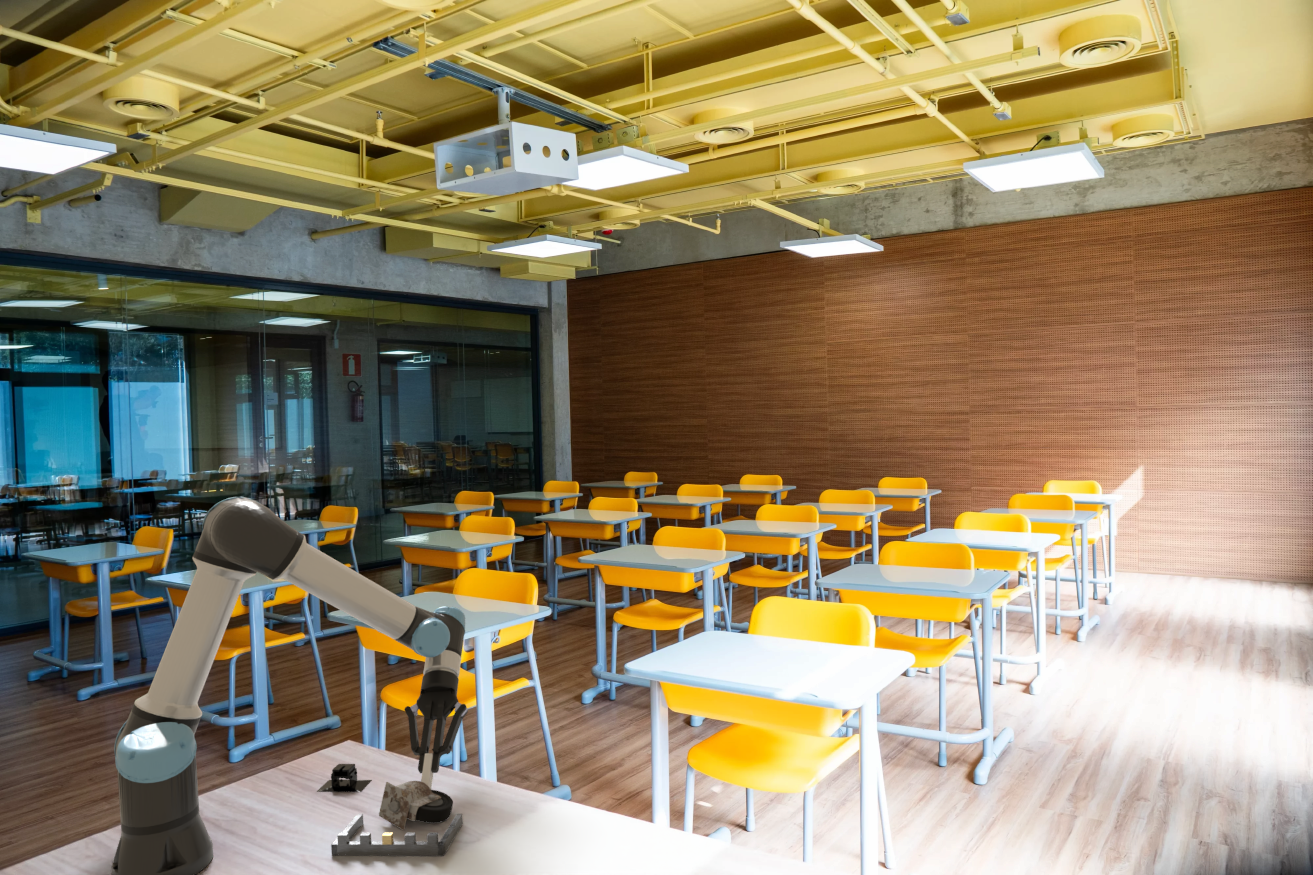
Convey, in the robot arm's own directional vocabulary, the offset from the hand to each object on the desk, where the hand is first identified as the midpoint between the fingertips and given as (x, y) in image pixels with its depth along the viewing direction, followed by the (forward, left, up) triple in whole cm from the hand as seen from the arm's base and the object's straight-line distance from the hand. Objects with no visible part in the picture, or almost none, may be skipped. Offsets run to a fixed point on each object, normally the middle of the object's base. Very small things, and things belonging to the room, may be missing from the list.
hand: (425, 788), depth 165 cm
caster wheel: (+1, -4, -4) cm, 6 cm away
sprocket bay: (-1, -12, -4) cm, 13 cm away
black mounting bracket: (-21, +9, -4) cm, 23 cm away
